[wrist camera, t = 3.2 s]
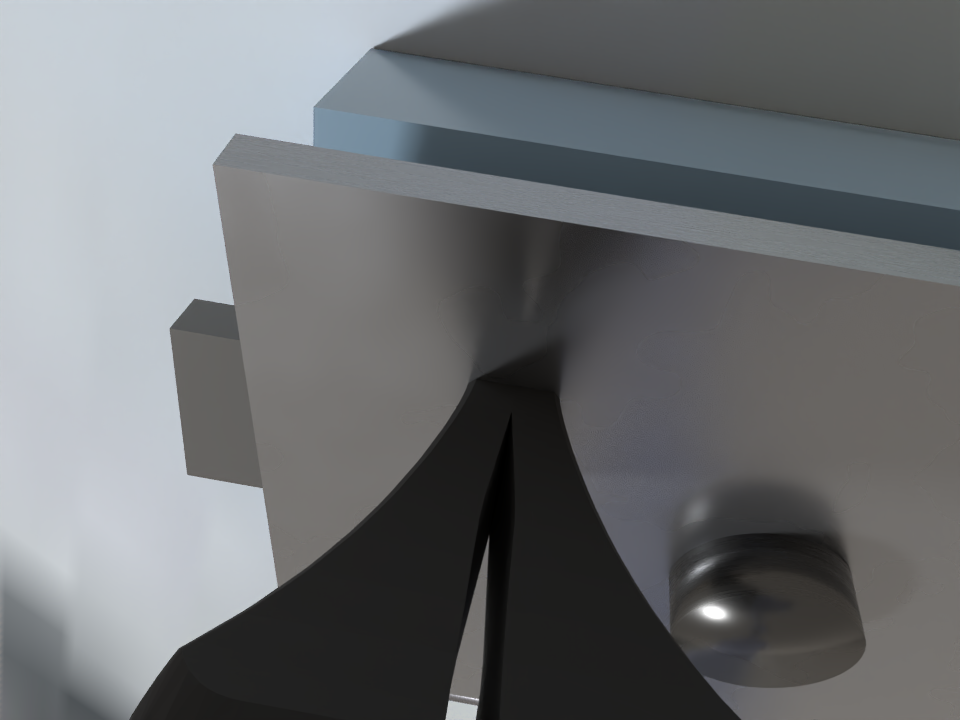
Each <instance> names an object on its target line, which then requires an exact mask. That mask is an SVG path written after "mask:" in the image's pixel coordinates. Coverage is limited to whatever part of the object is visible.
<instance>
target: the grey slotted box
mask: <svg viewBox="0 0 960 720" xmlns="http://www.w3.org/2000/svg"><path fill="white" fill-rule="evenodd" d="M314 146H315V147H321V148H327V149H333V150H339V151H346V152H352V153H358V154H364V155H370V156H377V157H383V158H389V159H395V160H401V161H407V162H414V163H420V164H426V165H432V166H438V167H445V168H451V169H457V170H463V171H469V172H476V173H482V174H488V175H494V176H500V177H506V178H513V179H519V180H525V181H531V182H537V183H544V184H550V185H556V186H562V187H568V188H574V189H581V190H587V191H593V192H599V193H605V194H612V195H618V196H624V197H630V198H636V199H643V200H649V201H655V202H661V203H667V204H673V205H680V206H686V207H692V208H698V209H704V210H711V211H717V212H723V213H729V214H735V215H741V216H748V217H754V218H760V219H766V220H772V221H779V222H785V223H791V224H797V225H803V226H810V227H816V228H822V229H828V230H834V231H840V232H847V233H853V234H859V235H865V236H871V237H878V238H884V239H890V240H896V241H902V242H909V243H915V244H921V245H927V246H933V247H939V248H946V249H952V250H958V251H960V141H959V140H952V139H946V138H940V137H933V136H927V135H921V134H914V133H908V132H901V131H895V130H889V129H882V128H876V127H870V126H863V125H857V124H850V123H844V122H838V121H831V120H825V119H819V118H812V117H806V116H800V115H793V114H787V113H780V112H774V111H768V110H761V109H755V108H749V107H742V106H736V105H729V104H723V103H717V102H710V101H704V100H698V99H691V98H685V97H679V96H672V95H666V94H659V93H653V92H647V91H640V90H634V89H628V88H621V87H615V86H608V85H602V84H596V83H589V82H583V81H577V80H570V79H564V78H558V77H551V76H545V75H538V74H532V73H526V72H519V71H513V70H507V69H500V68H494V67H487V66H481V65H475V64H468V63H462V62H456V61H449V60H443V59H437V58H430V57H424V56H417V55H411V54H405V53H398V52H392V51H386V50H379V49H373V48H371V49H370V50H369V51H368V52H367V53H366V54H365V55H364V56H363V57H362V58H361V59H360V60H359V61H358V62H357V63H356V64H355V65H354V66H353V67H352V68H351V69H350V71H349V72H348V73H347V74H346V75H345V76H344V77H343V78H342V79H341V80H340V81H339V82H338V83H337V84H336V85H335V86H334V87H333V88H332V89H331V90H330V91H329V92H328V93H327V94H326V95H325V96H324V97H323V98H322V99H321V100H320V101H319V102H318V103H317V104H316V105H315V106H314ZM170 335H171V343H172V351H173V360H174V368H175V376H176V385H177V393H178V401H179V409H180V418H181V426H182V434H183V443H184V451H185V459H186V468H187V475H191V476H197V477H203V478H208V479H214V480H219V481H225V482H231V483H236V484H242V485H248V486H253V487H259V488H263V486H262V479H261V473H260V466H259V460H258V454H257V447H256V441H255V434H254V428H253V421H252V415H251V408H250V402H249V395H248V389H247V382H246V376H245V370H244V363H243V357H242V350H241V344H240V337H239V331H238V324H237V318H236V311H235V306H234V305H228V304H222V303H216V302H210V301H204V300H198V299H194V300H193V301H192V303H191V304H190V305H189V306H188V307H187V308H186V310H185V311H184V312H183V313H182V314H181V316H180V317H179V318H178V319H177V320H176V322H175V323H174V324H173V325H172V326H171V328H170Z"/></svg>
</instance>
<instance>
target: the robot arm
mask: <svg viewBox="0 0 960 720" xmlns="http://www.w3.org/2000/svg"><path fill="white" fill-rule="evenodd" d="M488 538H489V547H488V567H487V587H486V607H485V628H484V648H483V665H482V676H481V687H480V695H479V702H478V709H477V716H476V720H741V719H740V718H739V717H738V715H737V714H736V713H735V712H734V711H733V710H732V709H731V708H730V707H729V706H728V705H727V704H726V703H725V702H724V701H723V700H722V699H721V697H720V696H719V695H718V694H717V693H716V691H715V690H714V689H713V688H712V687H711V685H710V684H709V683H708V682H707V681H706V679H705V678H704V677H703V676H702V675H701V673H700V672H699V671H698V670H697V669H696V667H695V666H694V665H693V664H692V662H691V661H690V660H689V658H688V657H687V656H686V654H685V653H684V652H683V650H682V649H681V647H680V646H679V645H678V643H677V642H676V641H675V639H674V638H673V637H672V635H671V634H670V633H669V631H668V630H667V629H666V627H665V626H664V625H663V623H662V622H661V620H660V619H659V618H658V616H657V615H656V614H655V612H654V611H653V609H652V608H651V606H650V605H649V603H648V601H647V600H646V598H645V597H644V595H643V594H642V592H641V591H640V589H639V587H638V586H637V584H636V583H635V581H634V579H633V578H632V576H631V574H630V573H629V571H628V569H627V568H626V566H625V564H624V562H623V561H622V559H621V557H620V555H619V554H618V552H617V550H616V548H615V546H614V544H613V542H612V540H611V538H610V537H609V535H608V533H607V531H606V529H605V526H604V524H603V522H602V520H601V518H600V516H599V514H598V512H597V510H596V508H595V505H594V503H593V501H592V499H591V496H590V494H589V492H588V489H587V487H586V484H585V481H584V479H583V476H582V474H581V471H580V469H579V466H578V464H577V461H576V458H575V455H574V453H573V450H572V446H571V443H570V440H569V437H568V434H567V430H566V427H565V423H564V419H563V415H562V410H561V405H560V399H559V397H558V396H557V395H556V394H555V392H552V391H546V390H540V389H534V388H528V387H522V386H516V385H510V384H504V383H498V382H493V381H487V380H481V379H475V380H473V381H471V382H469V383H468V385H467V388H466V390H465V392H464V394H463V396H462V398H461V400H460V402H459V404H458V405H457V407H456V409H455V410H454V412H453V414H452V415H451V417H450V418H449V420H448V421H447V423H446V424H445V426H444V427H443V429H442V430H441V431H440V433H439V434H438V435H437V437H436V438H435V439H434V441H433V442H432V443H431V445H430V446H429V447H428V449H427V450H426V451H425V453H424V454H423V455H422V457H421V458H420V459H419V460H418V461H417V463H416V464H415V465H414V466H413V467H412V468H411V470H410V471H409V472H408V473H407V474H406V475H405V476H404V478H403V479H402V480H401V481H400V482H399V483H398V484H397V486H396V487H395V488H394V489H393V490H392V491H391V492H390V493H389V494H388V495H387V496H386V497H385V499H384V500H383V501H382V502H381V503H380V504H379V505H378V506H377V507H376V508H375V509H374V510H373V511H372V512H371V513H370V514H369V515H367V516H366V517H365V518H364V519H363V520H362V521H361V522H360V523H359V524H358V525H357V526H356V527H355V528H354V529H352V530H351V531H350V532H349V533H348V534H347V535H346V536H344V537H343V538H342V539H341V540H340V541H339V542H337V543H336V544H335V545H334V546H333V547H331V548H330V549H329V550H328V551H327V552H325V553H324V554H323V555H322V556H321V557H319V558H318V559H317V560H316V561H314V562H313V563H312V564H310V565H309V566H308V567H307V568H305V569H304V570H303V571H301V572H300V573H298V574H297V575H296V576H294V577H293V578H291V579H290V580H288V581H287V582H286V583H284V584H283V585H281V586H280V587H278V588H277V589H275V590H274V591H273V592H271V593H270V594H268V595H267V596H265V597H264V598H263V599H261V600H260V601H258V602H257V603H255V604H254V605H252V606H251V607H249V608H247V609H246V610H244V611H243V612H241V613H239V614H238V615H236V616H234V617H233V618H231V619H229V620H227V621H226V622H224V623H222V624H221V625H219V626H217V627H215V628H214V629H212V630H210V631H208V632H207V633H205V634H203V635H202V636H200V637H198V638H196V639H195V640H193V641H191V642H189V643H188V644H186V645H184V646H182V647H181V648H179V649H178V650H177V652H176V653H175V654H174V655H173V657H172V658H171V659H170V660H169V662H168V663H167V664H166V666H165V667H164V668H163V670H162V671H161V672H160V674H159V675H158V676H157V678H156V679H155V681H154V682H153V684H152V685H151V687H150V688H149V690H148V691H147V693H146V694H145V696H144V697H143V698H142V700H141V701H140V703H139V705H138V706H137V708H136V709H135V711H134V712H133V714H132V716H131V718H130V720H445V719H446V713H447V707H448V701H449V695H450V689H451V683H452V679H453V674H454V670H455V665H456V660H457V656H458V652H459V649H460V645H461V641H462V637H463V633H464V630H465V626H466V622H467V618H468V614H469V610H470V607H471V603H472V599H473V595H474V591H475V588H476V584H477V580H478V576H479V572H480V569H481V565H482V561H483V557H484V553H485V550H486V546H487V542H488Z"/></svg>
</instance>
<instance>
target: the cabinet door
mask: <svg viewBox="0 0 960 720" xmlns="http://www.w3.org/2000/svg"><path fill="white" fill-rule="evenodd" d="M213 169H214V176H215V182H216V189H217V195H218V202H219V208H220V215H221V221H222V228H223V234H224V240H225V247H226V253H227V260H228V266H229V273H230V279H231V286H232V292H233V299H234V305H235V311H236V318H237V324H238V331H239V337H240V344H241V350H242V357H243V363H244V370H245V376H246V382H247V389H248V395H249V402H250V408H251V415H252V421H253V428H254V434H255V441H256V447H257V454H258V460H259V466H260V473H261V479H262V486H263V492H264V499H265V505H266V512H267V518H268V525H269V531H270V537H271V544H272V550H273V557H274V563H275V570H276V576H277V583H278V587H280V586H281V585H283V584H284V583H286V582H287V581H288V580H290V579H291V578H293V577H294V576H296V575H297V574H298V573H300V572H301V571H303V570H304V569H305V568H307V567H308V566H309V565H310V564H312V563H313V562H314V561H316V560H317V559H318V558H319V557H321V556H322V555H323V554H324V553H325V552H327V551H328V550H329V549H330V548H331V547H333V546H334V545H335V544H336V543H337V542H339V541H340V540H341V539H342V538H343V537H344V536H346V535H347V534H348V533H349V532H350V531H351V530H352V529H354V528H355V527H356V526H357V525H358V524H359V523H360V522H361V521H362V520H363V519H364V518H365V517H366V516H367V515H369V514H370V513H371V512H372V511H373V510H374V509H375V508H376V507H377V506H378V505H379V504H380V503H381V502H382V501H383V500H384V499H385V497H386V496H387V495H388V494H389V493H390V492H391V491H392V490H393V489H394V488H395V487H396V486H397V484H398V483H399V482H400V481H401V480H402V479H403V478H404V476H405V475H406V474H407V473H408V472H409V471H410V470H411V468H412V467H413V466H414V465H415V464H416V463H417V461H418V460H419V459H420V458H421V457H422V455H423V454H424V453H425V451H426V450H427V449H428V447H429V446H430V445H431V443H432V442H433V441H434V439H435V438H436V437H437V435H438V434H439V433H440V431H441V430H442V429H443V427H444V426H445V424H446V423H447V421H448V420H449V418H450V417H451V415H452V414H453V412H454V410H455V409H456V407H457V405H458V404H459V402H460V400H461V398H462V396H463V394H464V392H465V390H466V388H467V385H468V383H469V382H471V381H473V380H475V379H481V380H487V381H493V382H498V383H504V384H510V385H516V386H522V387H528V388H534V389H540V390H546V391H552V392H555V394H556V395H557V396H558V397H559V399H560V405H561V410H562V415H563V419H564V423H565V427H566V430H567V434H568V437H569V440H570V443H571V446H572V450H573V453H574V455H575V458H576V461H577V464H578V466H579V469H580V471H581V474H582V476H583V479H584V481H585V484H586V487H587V489H588V492H589V494H590V496H591V499H592V501H593V503H594V505H595V508H596V510H597V512H598V514H599V516H600V518H601V520H602V522H603V524H604V526H605V529H606V531H607V533H608V535H609V537H610V538H611V540H612V542H613V544H614V546H615V548H616V550H617V552H618V554H619V555H620V557H621V559H622V561H623V562H624V564H625V566H626V568H627V569H628V571H629V573H630V574H631V576H632V578H633V579H634V581H635V583H636V584H637V586H638V587H639V589H640V591H641V592H642V594H643V595H644V597H645V598H646V600H647V601H648V603H649V605H650V606H651V608H652V609H653V611H654V612H655V614H656V615H657V616H658V618H659V619H660V620H661V622H662V623H663V625H664V626H665V627H666V629H667V630H668V631H669V633H670V634H671V635H672V637H673V638H674V639H675V641H676V642H677V643H678V645H679V646H680V647H681V649H682V650H683V652H684V653H685V654H686V656H687V657H688V658H689V660H690V661H691V662H692V664H693V665H694V666H695V667H696V669H697V670H698V671H699V672H700V673H701V675H702V676H703V677H704V678H705V679H706V681H707V682H708V683H709V684H710V685H711V687H712V688H713V689H714V690H715V691H716V693H717V694H718V695H719V696H720V697H721V699H722V700H723V701H724V702H725V703H726V704H727V705H728V706H729V707H730V708H731V709H732V710H733V711H734V712H735V713H736V714H737V715H738V717H739V718H740V719H741V720H960V251H958V250H952V249H946V248H939V247H933V246H927V245H921V244H915V243H909V242H902V241H896V240H890V239H884V238H878V237H871V236H865V235H859V234H853V233H847V232H840V231H834V230H828V229H822V228H816V227H810V226H803V225H797V224H791V223H785V222H779V221H772V220H766V219H760V218H754V217H748V216H741V215H735V214H729V213H723V212H717V211H711V210H704V209H698V208H692V207H686V206H680V205H673V204H667V203H661V202H655V201H649V200H643V199H636V198H630V197H624V196H618V195H612V194H605V193H599V192H593V191H587V190H581V189H574V188H568V187H562V186H556V185H550V184H544V183H537V182H531V181H525V180H519V179H513V178H506V177H500V176H494V175H488V174H482V173H476V172H469V171H463V170H457V169H451V168H445V167H438V166H432V165H426V164H420V163H414V162H407V161H401V160H395V159H389V158H383V157H377V156H370V155H364V154H358V153H352V152H346V151H339V150H333V149H327V148H321V147H315V146H308V145H302V144H296V143H290V142H284V141H278V140H271V139H265V138H259V137H253V136H247V135H240V134H235V135H234V136H233V138H232V139H231V140H230V142H229V143H228V144H227V146H226V147H225V149H224V150H223V151H222V153H221V154H220V155H219V157H218V158H217V159H216V161H215V162H214V163H213ZM488 547H489V538H488V542H487V546H486V550H485V553H484V557H483V561H482V565H481V569H480V572H479V576H478V580H477V584H476V588H475V591H474V595H473V599H472V603H471V607H470V610H469V614H468V618H467V622H466V626H465V630H464V633H463V637H462V641H461V645H460V649H459V652H458V656H457V660H456V665H455V670H454V674H453V679H452V683H451V689H450V695H449V700H450V701H455V702H460V703H466V704H471V705H477V706H478V702H479V695H480V687H481V676H482V665H483V648H484V628H485V607H486V587H487V567H488Z"/></svg>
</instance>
